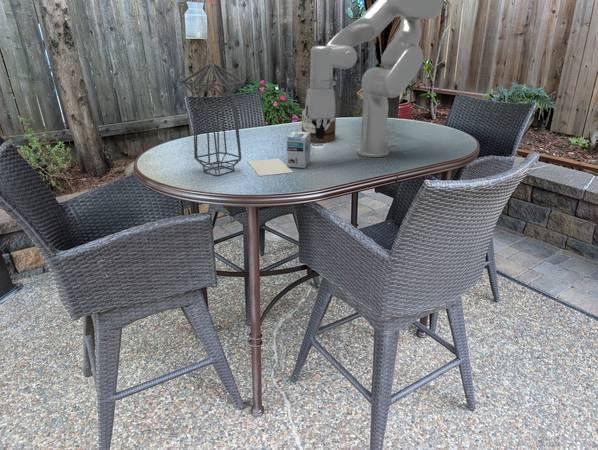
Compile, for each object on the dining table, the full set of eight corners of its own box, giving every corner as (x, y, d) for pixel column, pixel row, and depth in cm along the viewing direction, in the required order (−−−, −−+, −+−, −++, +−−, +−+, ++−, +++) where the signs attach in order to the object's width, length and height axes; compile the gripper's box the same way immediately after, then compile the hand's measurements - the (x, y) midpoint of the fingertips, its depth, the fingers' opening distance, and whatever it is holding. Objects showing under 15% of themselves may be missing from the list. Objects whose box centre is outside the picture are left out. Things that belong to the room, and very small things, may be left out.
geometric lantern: (187, 171, 148) (176, 63, 134) (225, 163, 158) (218, 62, 145) (213, 181, 138) (204, 65, 124) (252, 171, 148) (247, 63, 134)
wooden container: (297, 141, 187) (296, 89, 177) (307, 134, 199) (307, 85, 190) (330, 144, 182) (331, 90, 173) (338, 136, 195) (340, 86, 186)
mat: (278, 158, 161) (278, 158, 161) (293, 172, 146) (293, 171, 146) (247, 162, 158) (247, 161, 158) (259, 176, 142) (259, 175, 142)
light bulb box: (305, 168, 150) (305, 137, 145) (286, 167, 151) (286, 136, 147) (310, 160, 159) (311, 131, 155) (292, 159, 161) (293, 130, 156)
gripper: (336, 83, 152) (334, 134, 159) (296, 84, 147) (296, 137, 155) (345, 85, 145) (343, 139, 153) (304, 86, 141) (303, 142, 148)
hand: (319, 138), depth 154 cm, fingers closed
